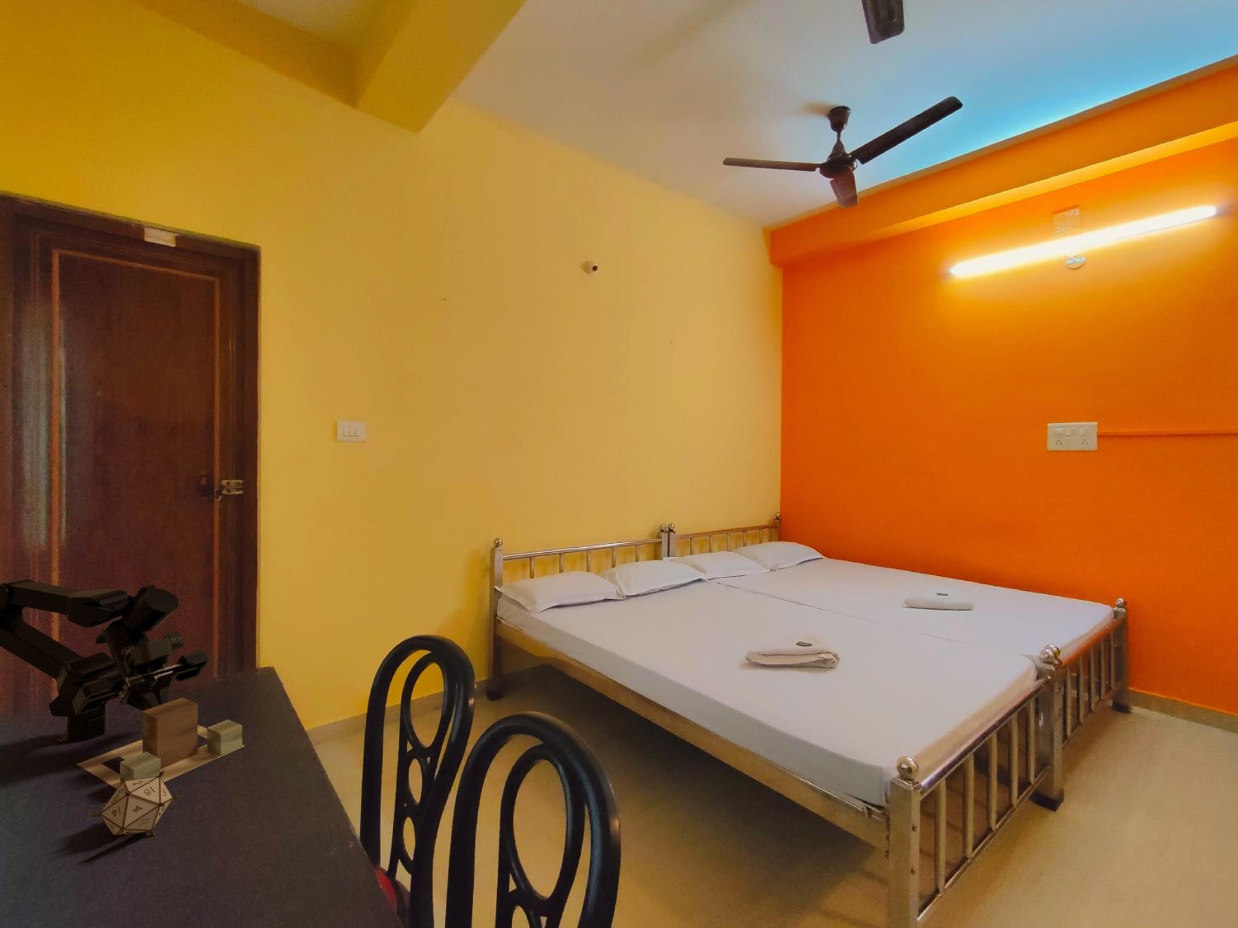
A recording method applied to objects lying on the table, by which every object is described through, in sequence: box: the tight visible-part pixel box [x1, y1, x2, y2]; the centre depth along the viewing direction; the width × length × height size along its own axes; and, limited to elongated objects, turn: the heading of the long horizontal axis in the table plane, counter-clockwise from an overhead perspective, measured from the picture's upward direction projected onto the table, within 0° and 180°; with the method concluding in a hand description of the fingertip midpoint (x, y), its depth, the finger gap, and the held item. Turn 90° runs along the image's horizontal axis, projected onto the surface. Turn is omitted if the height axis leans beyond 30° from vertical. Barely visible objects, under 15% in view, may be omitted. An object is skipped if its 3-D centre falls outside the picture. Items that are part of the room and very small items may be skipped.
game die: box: [90, 770, 181, 844], centre depth 80 cm, size 9×8×10 cm
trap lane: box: [76, 719, 246, 790], centre depth 98 cm, size 18×17×5 cm
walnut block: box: [141, 697, 199, 769], centre depth 97 cm, size 5×6×9 cm
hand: (163, 719), depth 98 cm, fingers closed
